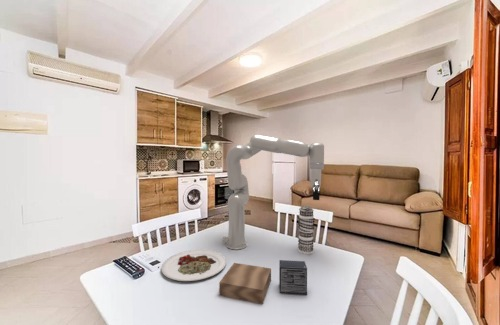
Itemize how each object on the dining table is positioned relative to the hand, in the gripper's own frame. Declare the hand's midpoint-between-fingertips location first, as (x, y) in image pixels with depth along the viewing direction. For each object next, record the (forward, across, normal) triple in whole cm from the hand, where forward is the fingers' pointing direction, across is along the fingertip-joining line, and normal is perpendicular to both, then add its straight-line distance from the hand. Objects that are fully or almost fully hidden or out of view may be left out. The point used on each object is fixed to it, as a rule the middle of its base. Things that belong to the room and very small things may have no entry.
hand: (315, 198), depth 116 cm
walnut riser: (+31, +38, -27) cm, 56 cm away
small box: (+32, +34, -9) cm, 47 cm away
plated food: (+32, +29, -56) cm, 71 cm away
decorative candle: (+31, -5, -5) cm, 32 cm away
